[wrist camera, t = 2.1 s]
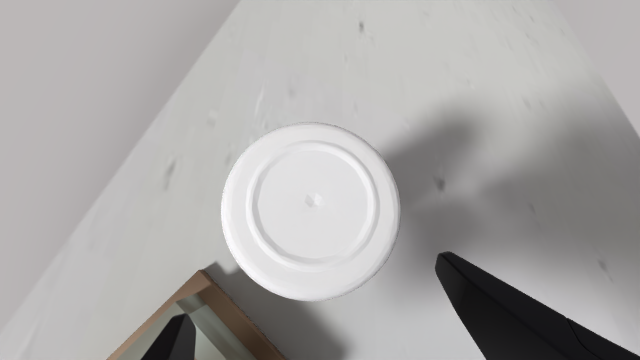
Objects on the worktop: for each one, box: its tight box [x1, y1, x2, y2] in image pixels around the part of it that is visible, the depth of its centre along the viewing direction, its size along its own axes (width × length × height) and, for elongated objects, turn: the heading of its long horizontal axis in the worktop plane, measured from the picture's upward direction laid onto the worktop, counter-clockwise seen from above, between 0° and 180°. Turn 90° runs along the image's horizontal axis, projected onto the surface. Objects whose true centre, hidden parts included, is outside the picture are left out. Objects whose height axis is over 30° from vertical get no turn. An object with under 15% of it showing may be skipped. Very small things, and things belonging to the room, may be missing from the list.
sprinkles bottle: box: [221, 122, 401, 301], centre depth 13 cm, size 5×5×13 cm
